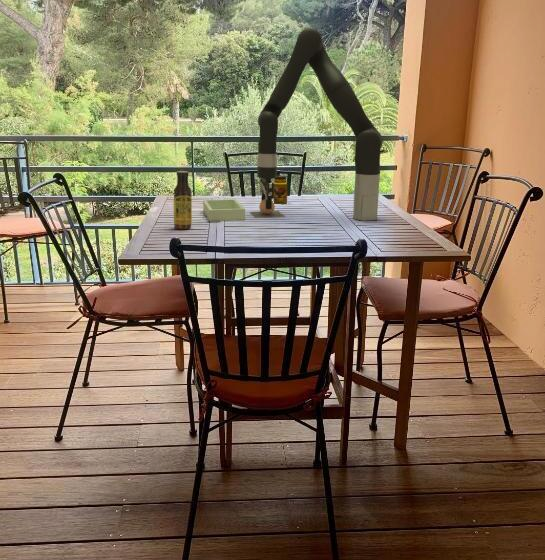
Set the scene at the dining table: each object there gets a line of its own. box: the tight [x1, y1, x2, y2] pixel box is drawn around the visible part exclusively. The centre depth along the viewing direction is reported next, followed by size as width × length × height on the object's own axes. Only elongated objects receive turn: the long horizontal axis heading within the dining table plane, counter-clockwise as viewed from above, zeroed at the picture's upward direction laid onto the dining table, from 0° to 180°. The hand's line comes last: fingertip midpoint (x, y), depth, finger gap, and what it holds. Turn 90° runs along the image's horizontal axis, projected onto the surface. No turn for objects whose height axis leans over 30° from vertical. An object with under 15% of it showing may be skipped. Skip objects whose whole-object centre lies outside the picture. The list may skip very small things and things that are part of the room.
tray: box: [202, 198, 246, 223], centre depth 225 cm, size 22×13×4 cm, turn 13°
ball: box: [259, 199, 276, 214], centre depth 227 cm, size 6×6×6 cm
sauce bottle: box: [173, 170, 193, 230], centre depth 202 cm, size 6×6×20 cm
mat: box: [249, 210, 286, 219], centre depth 228 cm, size 12×12×1 cm
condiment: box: [272, 175, 291, 205], centre depth 252 cm, size 7×8×12 cm
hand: (266, 207), depth 227 cm, fingers open, 8 cm apart
